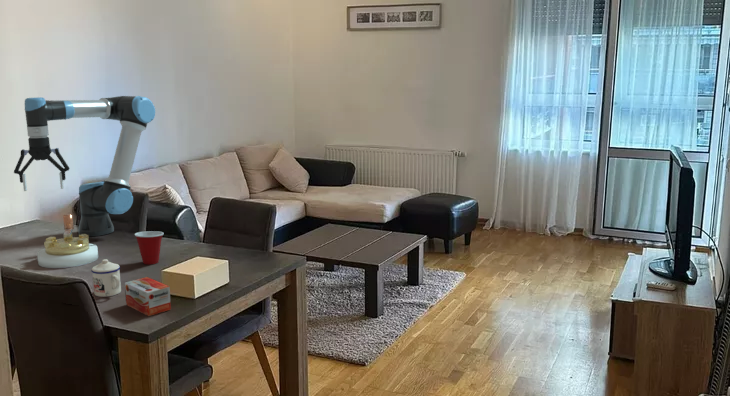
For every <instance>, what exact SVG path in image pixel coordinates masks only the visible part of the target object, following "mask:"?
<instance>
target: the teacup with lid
mask: <svg viewBox="0 0 730 396" xmlns="http://www.w3.org/2000/svg"><path fill="white" fill-rule="evenodd" d="M120 269H121V267H120V265H119V264H118V263H113V262H111V261H109V260H108V259H107V258H106V259H102V260H101V262H100V263H98V264H97V265H94V266H93V267H92V268H91V271H90V272H91V275H92V283H93V294H94V295H95V296H96V297H99V298H100V297H102V298H103V297H104V298H105V297H108V298H109V297H112V296H116V295H118V294H120V293H121V292H122V283H121V272H120Z"/></svg>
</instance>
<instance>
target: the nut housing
mask: <svg viewBox="0 0 730 396" xmlns="http://www.w3.org/2000/svg"><path fill="white" fill-rule="evenodd" d="M98 250H99V249H98V246H97V244H93V243H89V249H88V250H86V251H84V252H81V253H77V254H71V255H49V254H46V252H45V247H44V248H42V249H41V250H39V251H37V262H38V263H37V264H38V266H40V267H42V268H45V269H65V268H66V269H67V268H74V267H75V268H76V267H79V266H85V265H89V264H90V263H93V262H95V261H97V260H98V259H99V251H98Z"/></svg>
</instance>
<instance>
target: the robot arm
mask: <svg viewBox="0 0 730 396" xmlns="http://www.w3.org/2000/svg"><path fill="white" fill-rule="evenodd" d="M24 111H25V120H26V122H25V123H26V131H27V136H28V139H27V140H28V149H21V150H20V157H19V158H18V161H17V163H16V166H15V167H14V171H13V174H16V175H19V182H20V184H21V183H22V185H23V192H27V190H28V185H27V184H28V183H27V177H26V176H27V175H26V173H25V172H26V170H27V169H28V167H29V166H30V165H31V164H32V162H33V161H34V160H35V161H37V162H38V161H40V160H41V161H46V160H47V161H49V162H50V163H51V164H52V165H53V166H54V167H56V169H58V170H59V173H58V175H59V181H60V182H59V184H60V189H61V190H63V189H64V181H65V180H66V179H67V178H66V172H68V171H70V167H69V165H68V163H67V162H66V160H65V159H64V157H63V156H62V155H61V153H60V149H59V147H56V148H51V146H50V145H51V144H50V137H49V125H48V122H50V121H59V120H60V121H61V120H65V121H66V120H70V119H72V118H73V119H74V118H75V119H76V118H78V119H79V118H81V119H82V118H100V119H102V120H112V121H119V123H120V125H121V129H120V134H119V137H118V141H117V145H116V148H115V153H114V156H113V161H112V164H111V168H110V171H109V174H108V178H106V179H104V180H103V181H96V182H95V181H94V182H90V183H84V184H80V185H79V186H78V197H79V206H80V216H81V217H80V221H79V225H78V236H79V235H82V234H87V235H88V237H98V236H103V235H104V236H105V235H109V234H111V233H113V232H114V231H115V227H114V224H113V222H112V220H111V217H110V215H109V214H111V215H122V214H124V213H126V212H128V211H129V210H130V209H131V207H132V206H133V203H134V196H133V194H132V192H131V188H132V186H131V185H130V183H129V182H130V178H131V173H132V170H133V165H134V162H135V159H136V156H137V155H136V154H137V150H138V146H139V144H140V139H141V135H142V132H143V131H145V130H146V129H147V126H148V124H150V123H151V122H152V121H153V120H154V119H155V117H156V108H155V105H154V103H153V102H152V100H150V98H148V97H145V96H141V95H135V96H134V95H133V96H132V95H120V96H111V97H102V98H100V99H96V100H95V99H89V100H88V99H86V100H85V99H83V100H81V99H79V100H77V99H76V100H75V99H72V100H71V99H70V100H69V99H68V100H67V99H66V100H59V99H58V100H57V99H56V100H50V99H49V100H46V99H45V97H39V96H38V97H27V98H25V99H24ZM51 153H53V155H56V157H57V159H58V161H59V162H60V163H61V165H60V163H58V161H56V160H55V159H54V158H53V157H52V156H51ZM28 154H29V156H31V157H30V158H29V160H28V161H27V162H26V163H25V164H24V166H23V167H22V168H21V166H22V164H23V161H24V159H25V156H27V155H28ZM20 169H21V170H20Z"/></svg>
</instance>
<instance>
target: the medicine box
mask: <svg viewBox="0 0 730 396" xmlns="http://www.w3.org/2000/svg"><path fill="white" fill-rule="evenodd" d="M124 294H125V302H126V303H125V304H126V306H128V307H129V308H132V309H134V310H136V311H138V312H140V313H141V314H143V315H145V316H147V317H151V316H155V315H158V314H161V313H163V312H167V311H171V310H172V305H171V290H170V285H168V284H165V283H163V282H161V281H159V280H155V279H153V278H151V277H149V276H145V277H143V278H141V277H140V278H137V279H134V280H129V281H127V282H126V281H125V282H124Z"/></svg>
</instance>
